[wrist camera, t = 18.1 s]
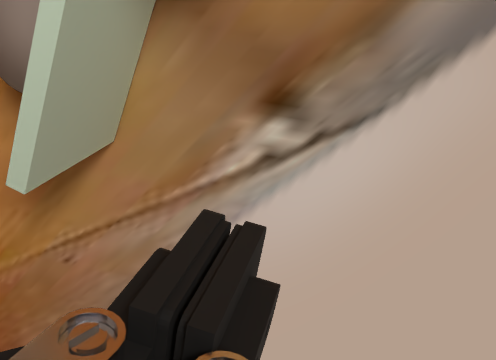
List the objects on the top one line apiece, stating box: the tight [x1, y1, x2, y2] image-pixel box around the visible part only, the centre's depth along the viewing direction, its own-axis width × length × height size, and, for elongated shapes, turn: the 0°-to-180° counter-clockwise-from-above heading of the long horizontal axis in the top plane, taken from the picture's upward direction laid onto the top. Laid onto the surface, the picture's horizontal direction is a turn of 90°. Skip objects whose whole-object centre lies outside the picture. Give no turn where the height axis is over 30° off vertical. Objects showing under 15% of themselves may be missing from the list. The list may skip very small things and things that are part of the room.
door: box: [6, 0, 156, 194], centre depth 27 cm, size 15×1×10 cm, turn 157°
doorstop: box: [0, 0, 40, 93], centre depth 29 cm, size 6×6×6 cm
